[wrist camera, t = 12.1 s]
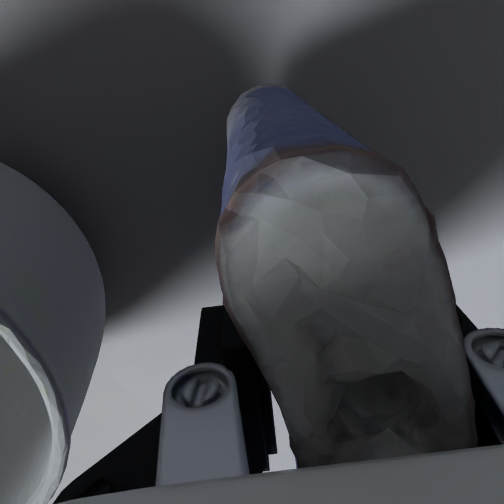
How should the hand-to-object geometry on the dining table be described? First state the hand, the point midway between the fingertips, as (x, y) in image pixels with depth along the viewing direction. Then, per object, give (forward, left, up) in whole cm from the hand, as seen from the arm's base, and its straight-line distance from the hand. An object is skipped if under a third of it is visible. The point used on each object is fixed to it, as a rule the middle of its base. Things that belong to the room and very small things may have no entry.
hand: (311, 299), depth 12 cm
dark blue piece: (0, +1, -3) cm, 3 cm away
